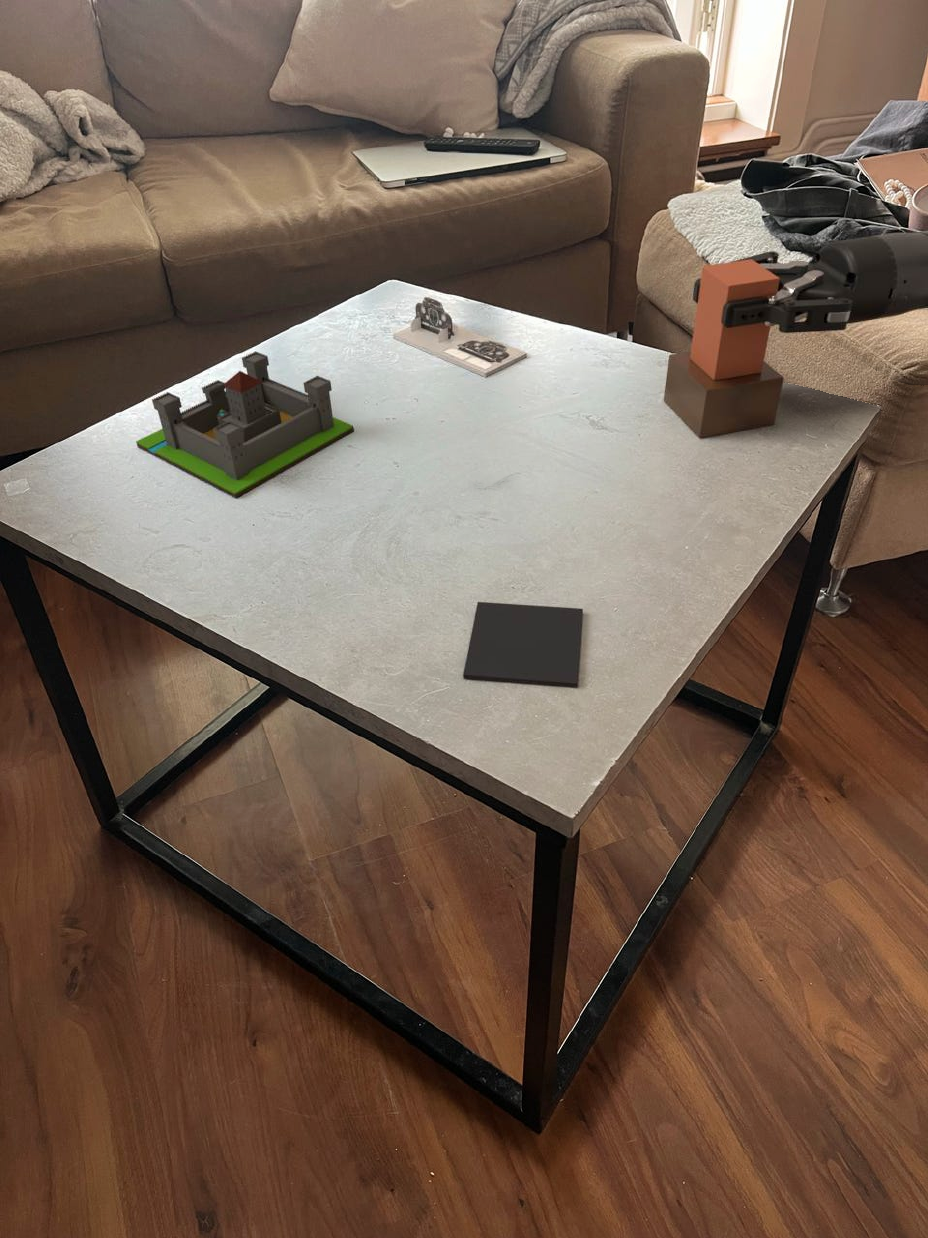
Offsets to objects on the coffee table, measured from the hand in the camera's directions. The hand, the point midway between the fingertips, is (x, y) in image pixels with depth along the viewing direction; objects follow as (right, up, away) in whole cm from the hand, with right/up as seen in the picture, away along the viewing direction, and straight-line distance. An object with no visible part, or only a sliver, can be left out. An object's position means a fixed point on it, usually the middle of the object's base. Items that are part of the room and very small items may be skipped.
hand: (710, 303), depth 84 cm
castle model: (-44, -11, +7) cm, 46 cm away
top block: (+3, -4, +5) cm, 7 cm away
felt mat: (-18, -31, -17) cm, 39 cm away
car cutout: (-23, +2, +21) cm, 32 cm away
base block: (+3, -8, +8) cm, 12 cm away
